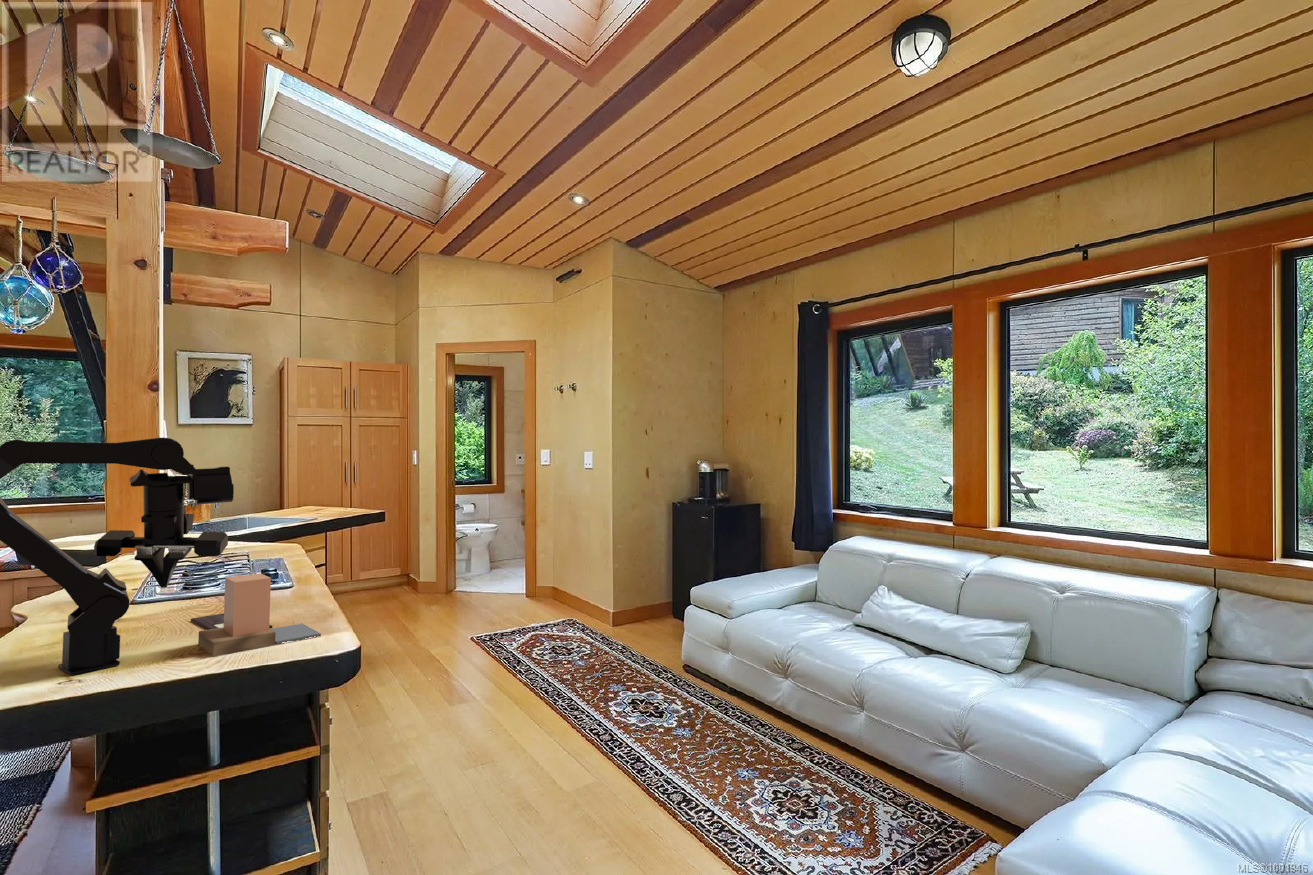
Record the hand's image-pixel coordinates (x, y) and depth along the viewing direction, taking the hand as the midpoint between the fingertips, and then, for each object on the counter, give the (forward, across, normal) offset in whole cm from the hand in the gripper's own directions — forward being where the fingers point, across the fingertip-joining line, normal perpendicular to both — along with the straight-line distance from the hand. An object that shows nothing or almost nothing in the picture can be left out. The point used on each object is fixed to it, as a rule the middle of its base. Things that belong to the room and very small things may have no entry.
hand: (164, 586), depth 119 cm
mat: (+11, -21, -1) cm, 23 cm away
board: (+10, -12, +4) cm, 17 cm away
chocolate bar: (+15, -8, -12) cm, 21 cm away
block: (+8, -14, +2) cm, 16 cm away
